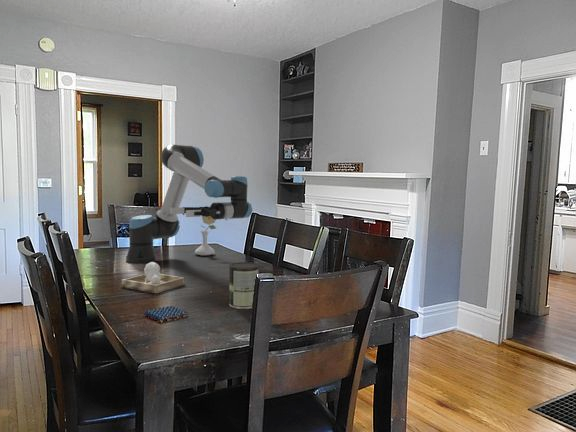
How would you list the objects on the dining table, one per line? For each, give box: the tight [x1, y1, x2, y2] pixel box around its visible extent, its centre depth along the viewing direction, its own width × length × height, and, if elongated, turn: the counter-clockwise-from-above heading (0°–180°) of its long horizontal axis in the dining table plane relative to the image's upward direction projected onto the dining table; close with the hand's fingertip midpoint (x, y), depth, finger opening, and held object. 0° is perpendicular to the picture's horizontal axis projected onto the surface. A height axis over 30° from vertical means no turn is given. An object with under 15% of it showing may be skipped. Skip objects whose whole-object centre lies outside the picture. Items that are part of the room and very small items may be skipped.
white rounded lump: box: [143, 261, 162, 285], centre depth 172 cm, size 6×8×12 cm
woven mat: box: [143, 305, 189, 324], centre depth 137 cm, size 10×11×2 cm
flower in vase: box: [194, 216, 217, 257], centre depth 246 cm, size 13×11×25 cm
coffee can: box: [228, 261, 260, 310], centre depth 151 cm, size 10×10×14 cm
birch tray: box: [121, 273, 185, 294], centre depth 174 cm, size 18×16×3 cm
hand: (177, 212), depth 180 cm, fingers open, 13 cm apart
